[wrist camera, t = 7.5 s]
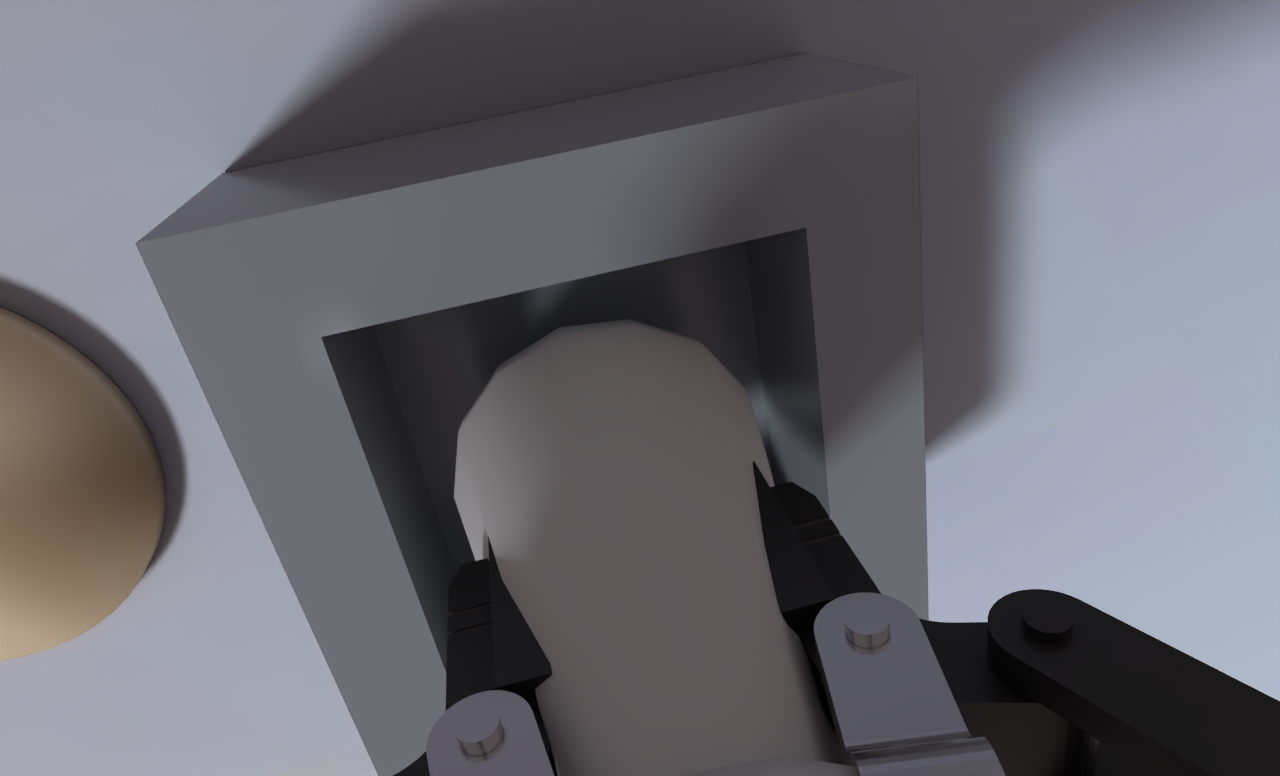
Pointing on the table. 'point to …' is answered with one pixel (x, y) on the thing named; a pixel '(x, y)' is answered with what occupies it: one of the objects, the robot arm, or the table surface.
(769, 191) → the well
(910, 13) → the table surface
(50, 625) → the cork coaster
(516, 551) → the salt shaker
